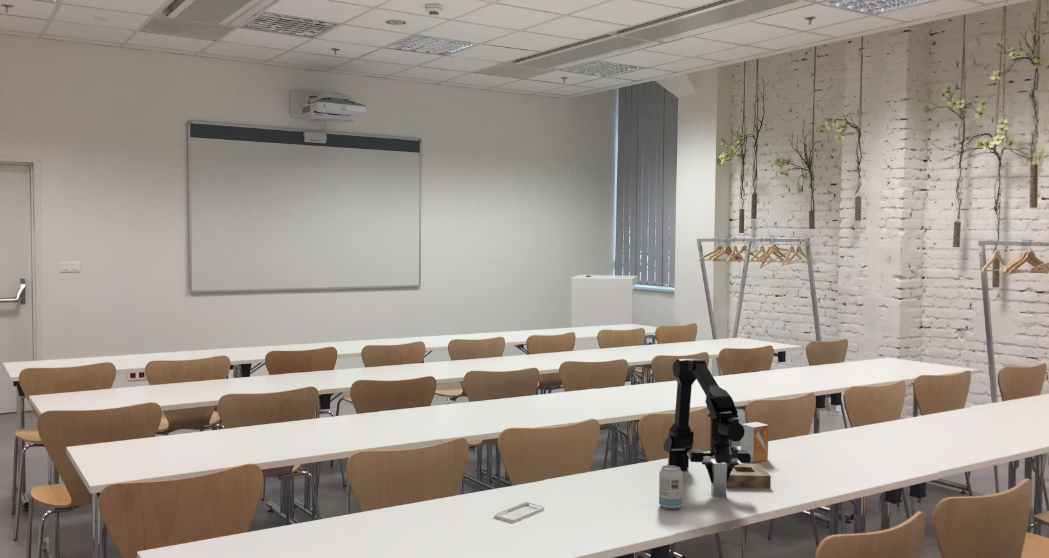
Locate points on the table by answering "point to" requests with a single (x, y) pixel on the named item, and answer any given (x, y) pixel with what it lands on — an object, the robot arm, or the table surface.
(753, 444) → the small box
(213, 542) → the table surface
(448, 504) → the table surface
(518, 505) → the phone case
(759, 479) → the walnut socket block
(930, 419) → the table surface
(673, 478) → the beverage can
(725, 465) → the grey metal peg
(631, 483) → the table surface
